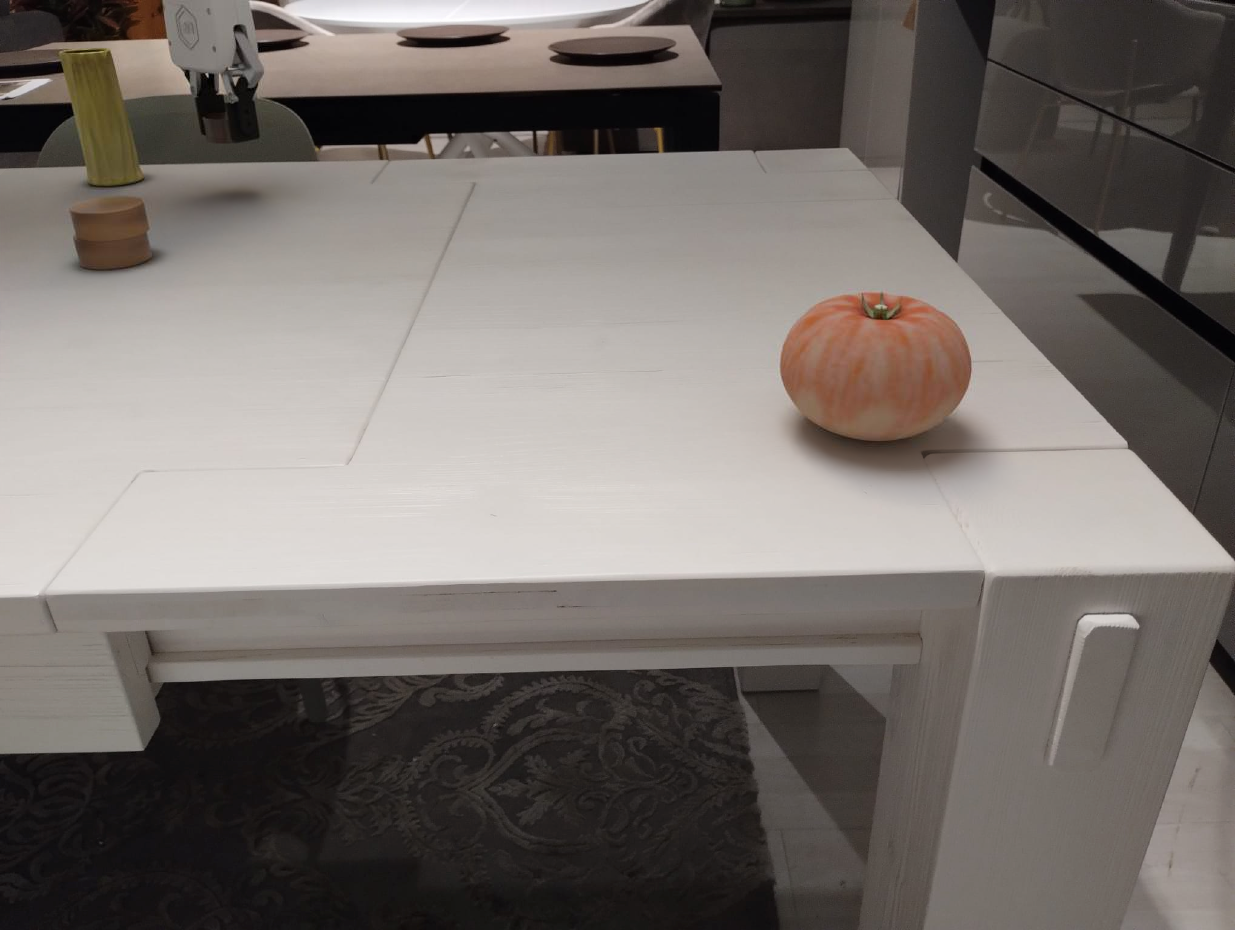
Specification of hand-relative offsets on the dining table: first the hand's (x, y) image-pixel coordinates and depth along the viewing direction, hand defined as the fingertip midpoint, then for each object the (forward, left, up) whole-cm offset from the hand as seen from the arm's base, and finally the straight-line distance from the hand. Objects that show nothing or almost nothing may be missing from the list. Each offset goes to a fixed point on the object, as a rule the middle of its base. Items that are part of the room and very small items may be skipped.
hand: (230, 135), depth 111 cm
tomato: (+82, -12, -6) cm, 83 cm away
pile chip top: (+14, -21, -4) cm, 26 cm away
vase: (-17, -6, -6) cm, 19 cm away
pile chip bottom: (+13, -22, -6) cm, 26 cm away
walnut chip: (0, 0, 0) cm, 0 cm away
